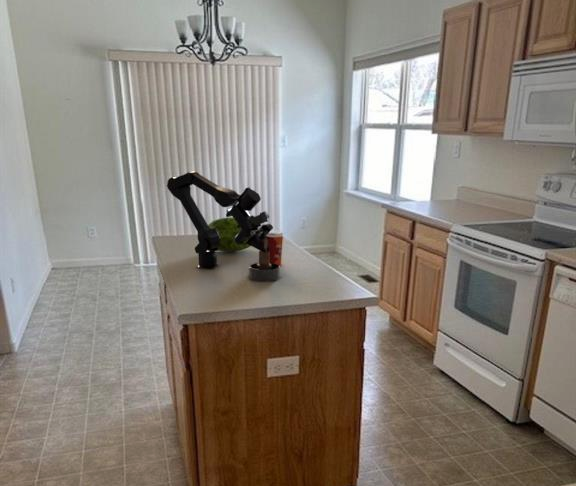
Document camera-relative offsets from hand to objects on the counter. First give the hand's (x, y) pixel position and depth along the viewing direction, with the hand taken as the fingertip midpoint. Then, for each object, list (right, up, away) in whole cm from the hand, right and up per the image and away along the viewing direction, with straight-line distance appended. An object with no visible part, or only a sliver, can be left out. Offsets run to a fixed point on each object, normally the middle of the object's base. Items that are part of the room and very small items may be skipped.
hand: (267, 251), depth 201 cm
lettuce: (-17, +7, +45) cm, 49 cm away
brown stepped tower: (-1, -6, +3) cm, 7 cm away
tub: (-1, -9, +5) cm, 11 cm away
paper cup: (+2, -2, +22) cm, 22 cm away
